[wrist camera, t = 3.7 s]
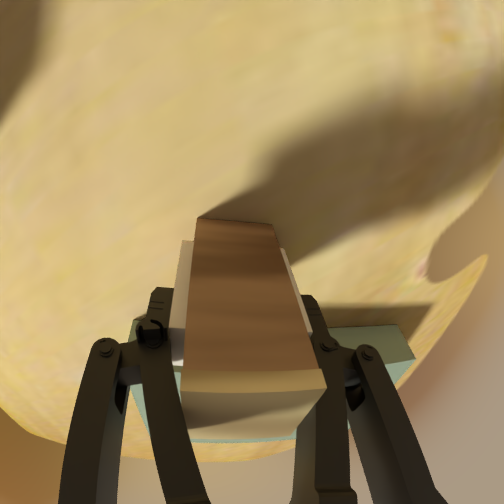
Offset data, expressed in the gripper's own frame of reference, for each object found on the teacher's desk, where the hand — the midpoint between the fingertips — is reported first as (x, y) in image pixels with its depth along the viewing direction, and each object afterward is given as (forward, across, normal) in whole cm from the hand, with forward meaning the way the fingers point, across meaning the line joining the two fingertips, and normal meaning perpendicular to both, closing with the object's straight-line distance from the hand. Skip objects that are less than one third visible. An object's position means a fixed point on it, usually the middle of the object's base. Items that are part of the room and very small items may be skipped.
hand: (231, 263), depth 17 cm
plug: (+1, 0, 0) cm, 1 cm away
